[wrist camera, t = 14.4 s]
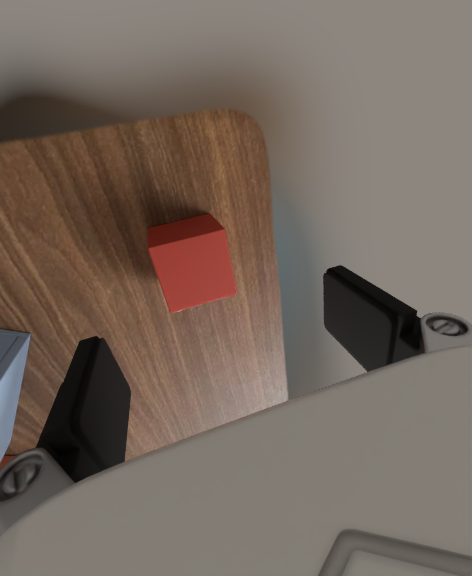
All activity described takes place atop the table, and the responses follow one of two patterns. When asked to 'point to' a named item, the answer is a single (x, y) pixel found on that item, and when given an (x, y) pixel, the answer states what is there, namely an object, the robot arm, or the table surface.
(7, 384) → the blue bin
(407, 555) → the robot arm
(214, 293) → the red block
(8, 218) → the table surface
